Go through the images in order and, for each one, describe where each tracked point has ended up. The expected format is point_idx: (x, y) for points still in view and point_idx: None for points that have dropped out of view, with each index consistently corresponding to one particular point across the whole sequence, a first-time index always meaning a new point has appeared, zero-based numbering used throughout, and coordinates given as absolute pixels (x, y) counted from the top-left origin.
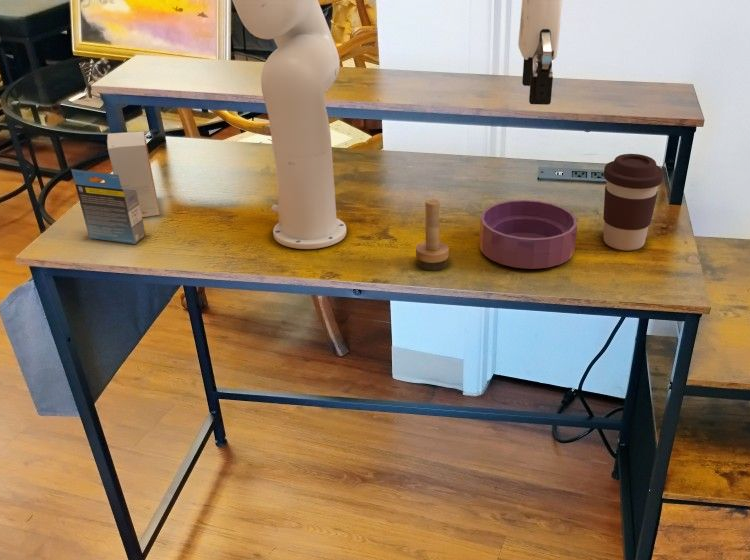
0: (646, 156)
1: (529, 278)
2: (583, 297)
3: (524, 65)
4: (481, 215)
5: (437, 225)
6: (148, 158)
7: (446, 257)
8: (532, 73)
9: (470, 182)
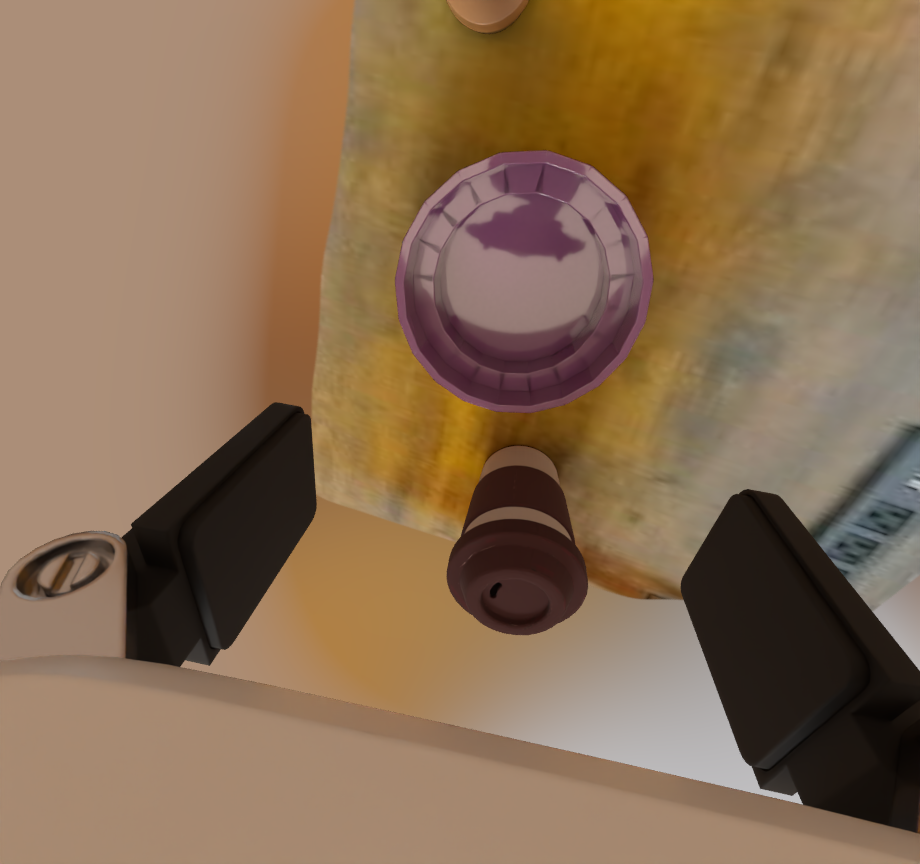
0: (534, 631)
1: (395, 254)
2: (320, 338)
3: (845, 620)
4: (568, 159)
5: None
6: None
7: (456, 17)
8: (746, 607)
9: None
